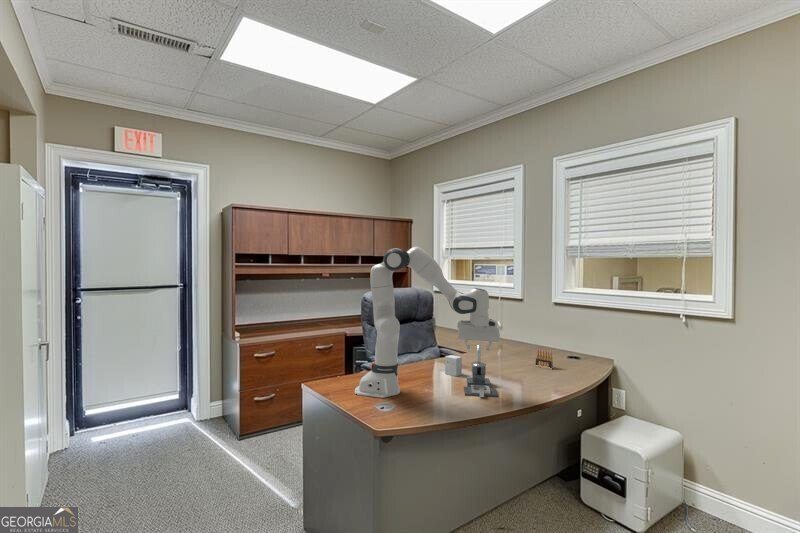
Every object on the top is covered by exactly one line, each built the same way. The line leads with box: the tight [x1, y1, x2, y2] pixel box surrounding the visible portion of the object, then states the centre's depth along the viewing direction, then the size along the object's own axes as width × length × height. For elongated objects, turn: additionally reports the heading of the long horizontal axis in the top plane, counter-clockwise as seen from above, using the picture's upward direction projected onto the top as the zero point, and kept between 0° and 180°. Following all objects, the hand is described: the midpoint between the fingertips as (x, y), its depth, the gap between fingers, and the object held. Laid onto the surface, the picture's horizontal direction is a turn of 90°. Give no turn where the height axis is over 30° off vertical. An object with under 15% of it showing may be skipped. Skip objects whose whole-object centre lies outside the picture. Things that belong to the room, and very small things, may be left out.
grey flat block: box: [471, 385, 491, 398], centre depth 200 cm, size 9×14×3 cm, turn 173°
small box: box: [444, 354, 463, 378], centre depth 234 cm, size 8×6×10 cm
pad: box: [463, 386, 499, 398], centre depth 202 cm, size 16×12×1 cm
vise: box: [466, 344, 492, 388], centre depth 216 cm, size 12×10×21 cm
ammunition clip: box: [535, 347, 554, 368], centre depth 254 cm, size 11×2×12 cm, turn 44°
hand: (477, 349), depth 198 cm, fingers open, 8 cm apart
